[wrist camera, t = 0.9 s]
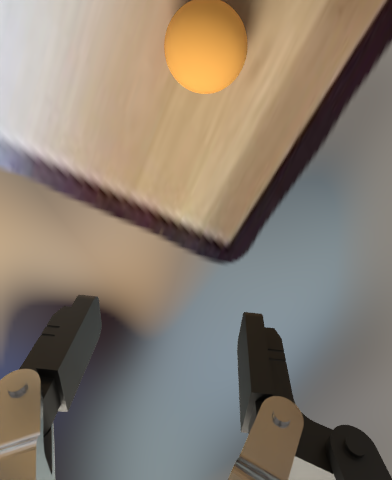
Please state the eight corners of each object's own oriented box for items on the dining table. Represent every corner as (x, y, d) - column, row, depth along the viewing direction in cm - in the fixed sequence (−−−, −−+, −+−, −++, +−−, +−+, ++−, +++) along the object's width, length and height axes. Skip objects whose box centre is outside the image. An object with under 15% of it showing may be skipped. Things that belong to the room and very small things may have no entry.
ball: (171, -2, 22) (158, -13, 18) (250, 5, 22) (257, -5, 18) (169, 85, 25) (157, 95, 20) (239, 91, 25) (243, 102, 20)
